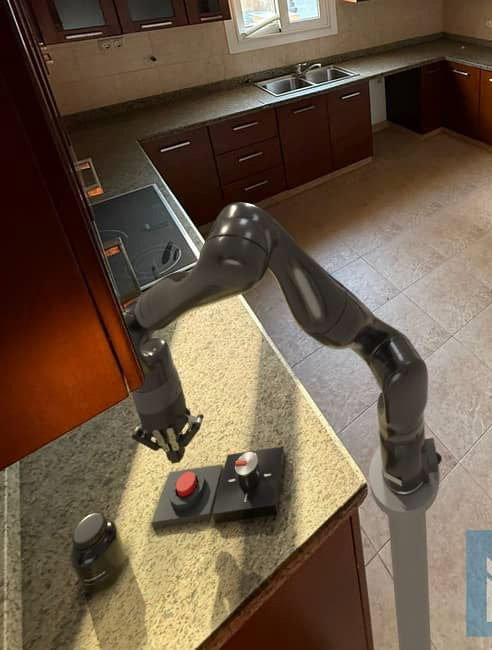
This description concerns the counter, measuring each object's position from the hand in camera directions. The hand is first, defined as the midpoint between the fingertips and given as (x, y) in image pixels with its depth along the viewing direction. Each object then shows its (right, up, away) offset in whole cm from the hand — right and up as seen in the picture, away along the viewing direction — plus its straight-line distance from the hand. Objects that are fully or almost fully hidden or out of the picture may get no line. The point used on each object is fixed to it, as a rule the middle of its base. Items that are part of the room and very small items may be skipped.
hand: (177, 458), depth 85 cm
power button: (0, -8, +3) cm, 9 cm away
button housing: (+1, -11, +4) cm, 12 cm away
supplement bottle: (-10, -15, -7) cm, 19 cm away
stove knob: (+13, -7, +4) cm, 15 cm away
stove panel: (+13, -10, +5) cm, 17 cm away
